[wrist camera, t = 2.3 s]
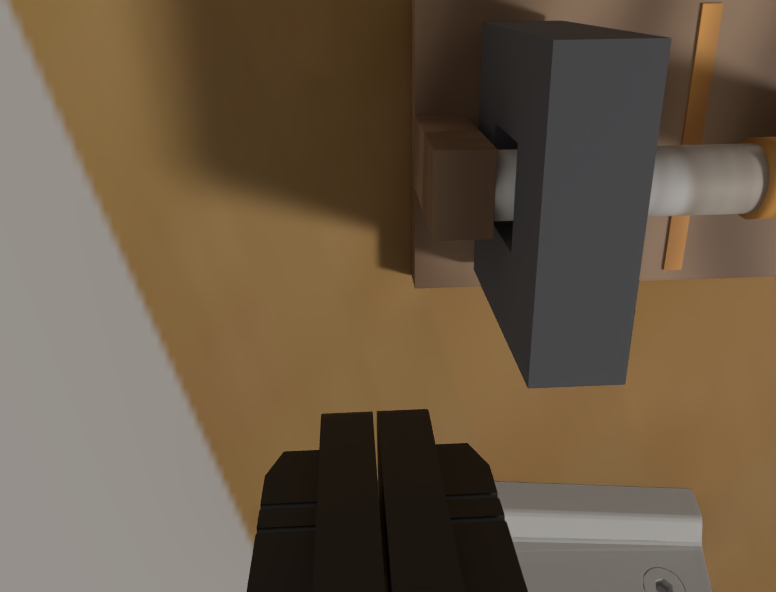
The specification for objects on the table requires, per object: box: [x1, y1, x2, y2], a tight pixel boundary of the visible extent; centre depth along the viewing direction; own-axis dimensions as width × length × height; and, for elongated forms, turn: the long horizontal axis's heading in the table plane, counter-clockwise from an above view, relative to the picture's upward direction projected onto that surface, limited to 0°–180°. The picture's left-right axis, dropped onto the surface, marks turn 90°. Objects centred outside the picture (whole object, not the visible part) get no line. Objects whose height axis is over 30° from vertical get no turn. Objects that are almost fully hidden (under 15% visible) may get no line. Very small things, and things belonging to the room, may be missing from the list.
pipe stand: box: [412, 0, 776, 288], centre depth 27 cm, size 17×12×8 cm
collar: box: [474, 20, 672, 388], centre depth 25 cm, size 3×10×10 cm, turn 1°
